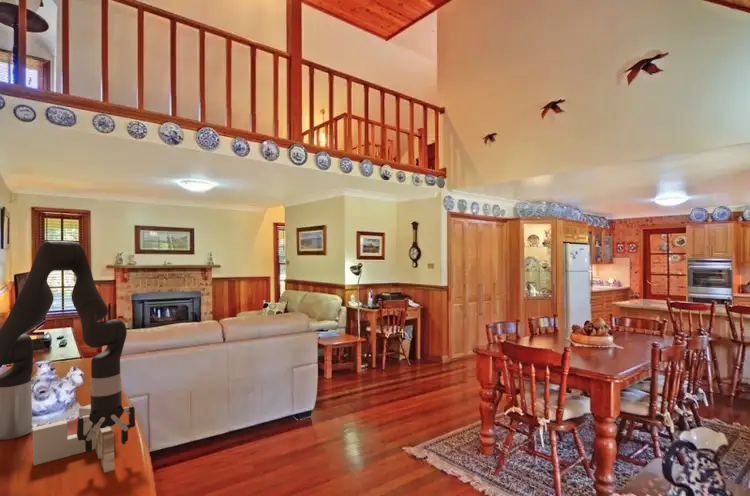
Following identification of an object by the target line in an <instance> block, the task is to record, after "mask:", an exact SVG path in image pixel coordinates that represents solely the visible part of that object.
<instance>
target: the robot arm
mask: <svg viewBox="0 0 750 496" xmlns="http://www.w3.org/2000/svg"><path fill="white" fill-rule="evenodd" d="M57 271H58V272H63V271H64V272H65V271H66V272H67V271H70V272H71V271H72V273H73V274H74V275H75V277H76V280H75V283H74V286H73V288H72V290H71V291H72V292H71V301H72V304H73V307H74V309H75V311H76V313H77V315H78V316H79V318H80V323H81V330H82V340H83V343H84V344H85V345H86V346H88V347H90V348H92V349H95V348H101V347H106V348H105V350H104V351H102V352H101V353H98V354H97V355H94V356H93V357H92V358H91V361H90V370H91V371H90V373H91V374H90V375H91V377H90V386H89V387H90V389H89V392H90V404H91V413H90V415H89V416H84V417H82V416H79V415H78V416H77V418H76V434H77V438H78V440H85V449H86V453H88V454H89V455H90V454H92V453H93V450H92V439H91V438H92V437H93V435H94V434H95V433H96V432H97V430H98V429H99V428H101V429H102V428H105V427H107V426H114V427H115V425H117V426H118V427H119V428H120V429H121V430H120V433H121V434H120V435H121V437H120V439H121V440H120V442H121V444H122V445H126V442H128V440H129V430H130V429H131V428H134V427H135V426H136V414H135V413H136V412H135V411H136V410H135V409H136V408H135V406H133V404H129V405H128V406H124V407H123V403H122V402H123V400H122V398H123V397H122V396H123V395H122V393H123V390H122V386H123V385H122V384H123V383H122V376H121V358H122V353H123V350H124V347H125V343H126V339H127V333H128V332H127V327H126V324H125V322H124V321H123V320H121V319H118V318H117V319H108V320H103V319H104V318H105V317H106V316H107V315H108V313H109V309H108V306H107V304H106V302H105V301H104V299H103V297H102V296H101V294H100V292H99V290H98V288H97V285H96V283H95V280H94V276H93V273H92V270H91V266H90V263H89V260H88V257H87V254H86V252H85V249H84V247H83V246H82V245H81V244H80V243H78V242H77V241H70V240H69V241H66V240H45V241H44V242H43V243H41V245H40V246H39V248H38V249H37V252H36V254H35V257H34V259H33V262H32V265H31V266H30V270H29V272H28V276H27V278H26V280H25V282H24V283H23V286H22V287H21V290H20V292H19V293H18V295H17V297H16V299H15V300H14V302H13V304H12V307H11V309H10V311H9V313H8V315H7V317H6V318H5V320H4V323H3V324H2V326H1V327H0V367H1V366H7V365H12V366H11V367H10V368H9V369H7V370H6V371H4V372H3V373H1V374H0V441H3V440H4V441H5V440H11V439H12V440H13V439H16V438H20V437H23V436H25V435H27V434H29V433H31V432H33V416H32V415H33V413H32V412H33V410H32V409H33V408H32V405H33V403H32V401H33V399H32V397H33V395H32V375H33V370H34V369H33V368H34V367H33V366H34V342H33V338H32V337H31V336H30V335H29V334H27V333H26V332H28V331H29V330H31V329H32V328H34V327H35V326H36V325H38V324H39V323H40V322H41V321H43V320H44V319H45V317H46V316H47V314H48V313H49V311H50V309H51V307H52V305H53V303H54V294H53V292H52V289H51V287H50V285H49V284H48V278H49V275H51V273H52V272H57ZM124 413H125V414H126V415H128V422H127V423H125V422H124V421H123V420H122V419H121V417H122V415H124ZM88 420H90V421H91V422H92V423H93V424H92V425H91V426H90V428H89V430H88V432H87V433H86V434H83V425H85V424H86V423H87V421H88Z"/></svg>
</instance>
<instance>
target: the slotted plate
mask: <svg viewBox="0 0 750 496" xmlns="http://www.w3.org/2000/svg"><path fill="white" fill-rule="evenodd" d="M95 437H96V449H95V453H96V456H97V458H98V460H100V466H101V468H102V470H103V472H104V473H105V474H106V473H109V472H112V471H115V470H116V469H115V467H116V466H115V432H114V433H113V431H112V430H111V428H110V426H107V427H105V428H102V429H101V428H99V429H98V430H97V432H96V433H95Z"/></svg>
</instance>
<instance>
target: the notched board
mask: <svg viewBox="0 0 750 496" xmlns="http://www.w3.org/2000/svg"><path fill="white" fill-rule="evenodd" d="M87 416H89V415H87ZM82 417H84V416H82ZM92 424H93V423H92V422H91V421H90V420H88V421H87V423H86V424H85V425H83V434H86V433H87V432H88V430H89V428H90V426H91V425H92ZM110 428H111V430H112V431H113V433H114V434H115V425H114V426H110ZM91 439H92V451H93V450H96V437H95V434H94V435H93V437H92V438H91ZM85 452H86V449H85V440H78V438H77V433H75V434H70V435H68V420H67V419H65V420H61V421H56V422H52V423H51V422H50V423H46V424H43V425H38V426H34V427H33V426H32V463H33V466H37V465H40V464H44V463H48V462H51V461H56V460H60V459H64V458H67V457H70V456H73V455H78V454H82V453H85ZM86 453H87V452H86Z"/></svg>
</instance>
